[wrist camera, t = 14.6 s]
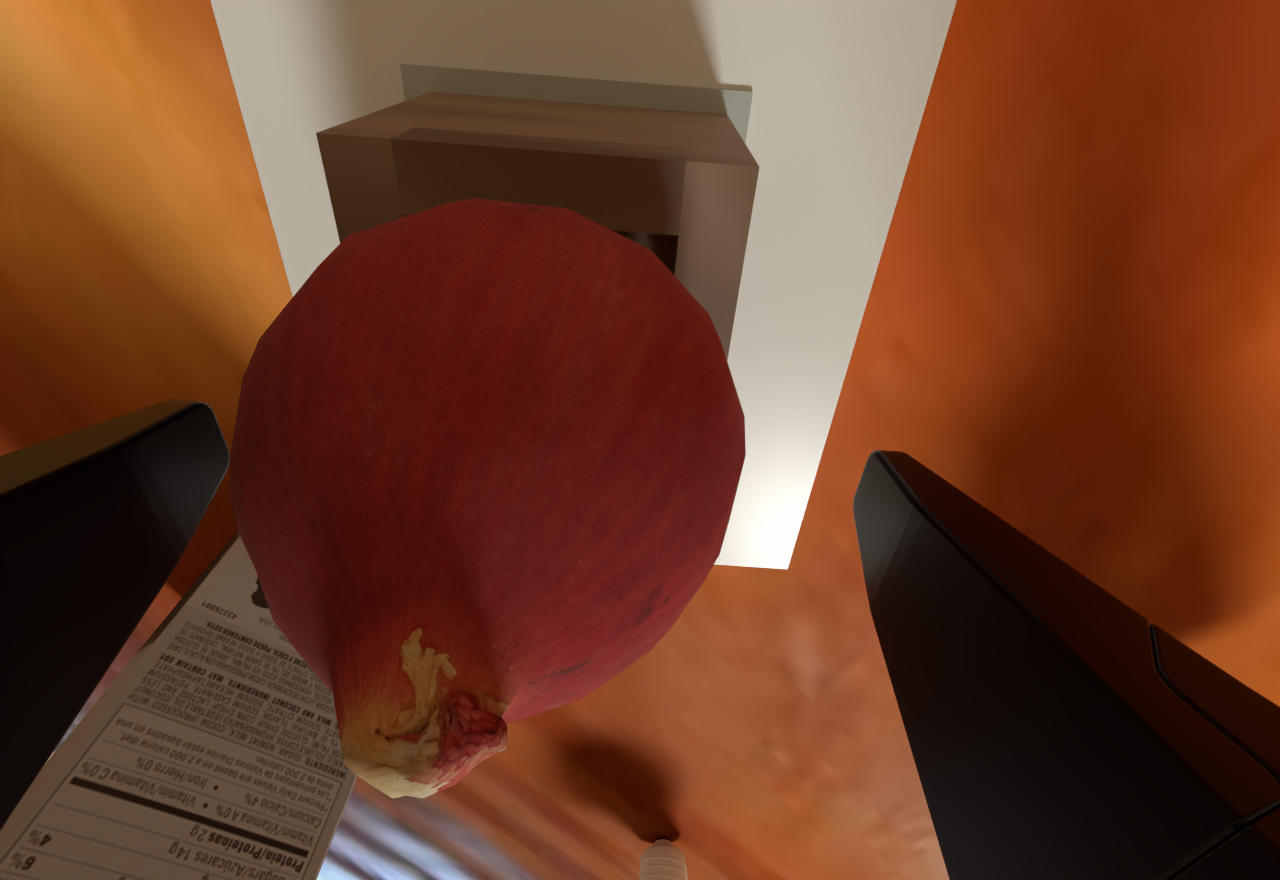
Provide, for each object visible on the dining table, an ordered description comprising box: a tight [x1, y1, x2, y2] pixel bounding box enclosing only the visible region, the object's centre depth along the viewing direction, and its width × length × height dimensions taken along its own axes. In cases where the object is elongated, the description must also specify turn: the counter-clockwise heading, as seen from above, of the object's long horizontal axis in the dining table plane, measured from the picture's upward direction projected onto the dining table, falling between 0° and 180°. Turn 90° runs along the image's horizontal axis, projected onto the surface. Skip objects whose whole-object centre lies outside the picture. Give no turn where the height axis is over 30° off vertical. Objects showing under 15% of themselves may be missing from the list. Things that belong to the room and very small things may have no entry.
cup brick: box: [316, 92, 759, 360], centre depth 12 cm, size 6×6×5 cm
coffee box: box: [0, 531, 357, 880], centre depth 17 cm, size 9×6×16 cm
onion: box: [230, 198, 746, 798], centre depth 8 cm, size 6×6×8 cm
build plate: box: [211, 0, 957, 569], centre depth 15 cm, size 20×14×1 cm
